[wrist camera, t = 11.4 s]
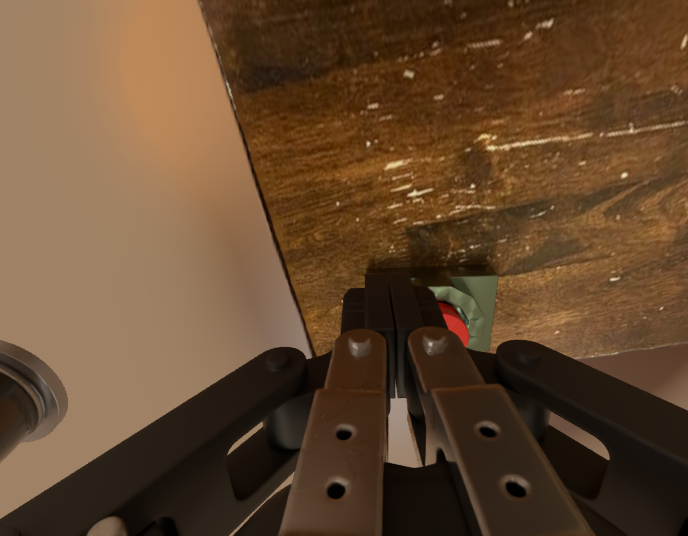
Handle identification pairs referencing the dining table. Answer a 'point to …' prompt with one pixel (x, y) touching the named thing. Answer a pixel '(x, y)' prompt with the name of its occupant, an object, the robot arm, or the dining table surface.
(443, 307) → the button
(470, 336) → the button base
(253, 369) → the robot arm
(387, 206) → the dining table surface
